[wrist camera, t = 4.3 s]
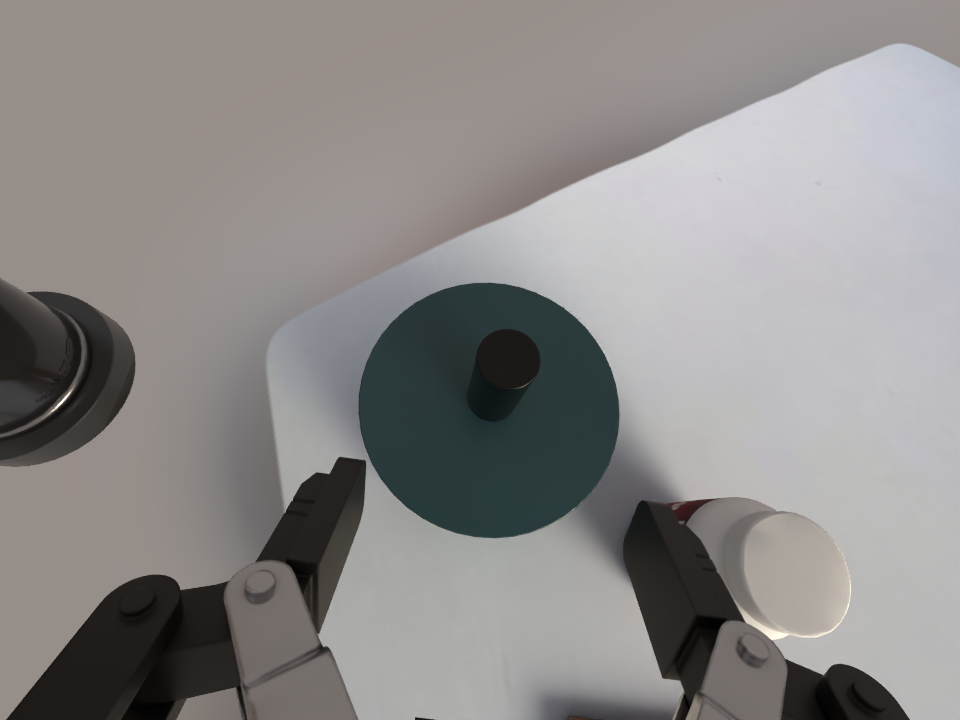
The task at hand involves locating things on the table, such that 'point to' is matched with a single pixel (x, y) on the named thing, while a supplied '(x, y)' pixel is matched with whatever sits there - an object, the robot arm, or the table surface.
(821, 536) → the pill bottle
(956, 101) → the table surface
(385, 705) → the table surface
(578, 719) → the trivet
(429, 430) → the lid
